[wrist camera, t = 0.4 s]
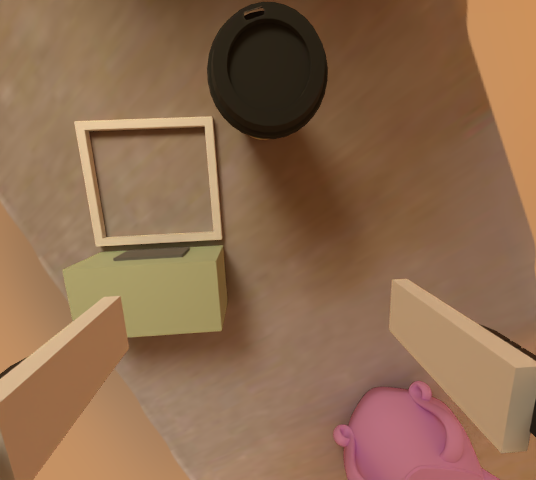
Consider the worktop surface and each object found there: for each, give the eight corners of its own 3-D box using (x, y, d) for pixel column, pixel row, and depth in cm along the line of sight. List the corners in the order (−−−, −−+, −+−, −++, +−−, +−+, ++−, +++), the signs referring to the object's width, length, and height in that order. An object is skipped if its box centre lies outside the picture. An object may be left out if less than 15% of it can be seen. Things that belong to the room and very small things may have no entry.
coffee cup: (238, 164, 37) (229, 152, 22) (212, 86, 35) (183, 15, 20) (309, 141, 37) (348, 112, 22) (287, 61, 35) (313, -29, 20)
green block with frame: (79, 123, 35) (28, 105, 27) (213, 118, 35) (202, 99, 28) (111, 309, 40) (76, 341, 32) (227, 302, 40) (221, 330, 33)
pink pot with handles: (315, 408, 45) (344, 510, 31) (435, 353, 44) (520, 432, 30) (359, 490, 49) (402, 613, 35) (469, 441, 48) (559, 547, 34)
